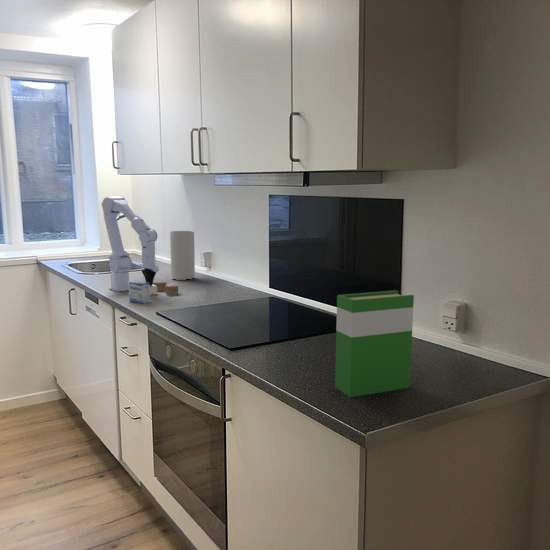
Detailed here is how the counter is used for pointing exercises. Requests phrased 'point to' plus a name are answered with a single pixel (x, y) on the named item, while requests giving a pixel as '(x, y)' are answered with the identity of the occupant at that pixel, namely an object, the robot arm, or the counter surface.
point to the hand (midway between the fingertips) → (149, 285)
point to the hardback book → (373, 342)
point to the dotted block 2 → (171, 289)
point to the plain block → (153, 289)
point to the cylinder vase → (182, 255)
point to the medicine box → (139, 292)
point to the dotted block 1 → (160, 285)
